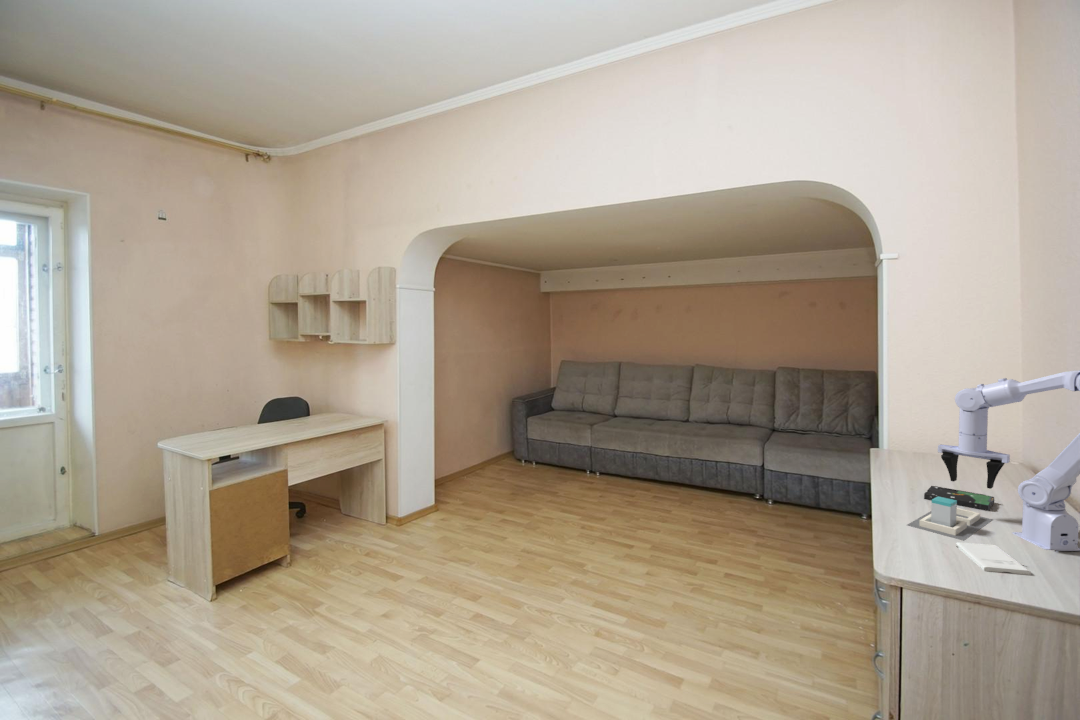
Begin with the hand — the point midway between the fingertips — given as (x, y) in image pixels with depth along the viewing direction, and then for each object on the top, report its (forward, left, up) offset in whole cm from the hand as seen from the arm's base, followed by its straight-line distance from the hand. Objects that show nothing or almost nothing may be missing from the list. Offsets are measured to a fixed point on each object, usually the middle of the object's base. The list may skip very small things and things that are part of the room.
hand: (971, 484), depth 135 cm
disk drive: (+14, -7, -11) cm, 19 cm away
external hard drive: (-23, +12, -11) cm, 28 cm away
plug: (-5, +10, -9) cm, 15 cm away
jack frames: (-3, +7, -10) cm, 12 cm away
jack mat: (-3, +7, -10) cm, 12 cm away
